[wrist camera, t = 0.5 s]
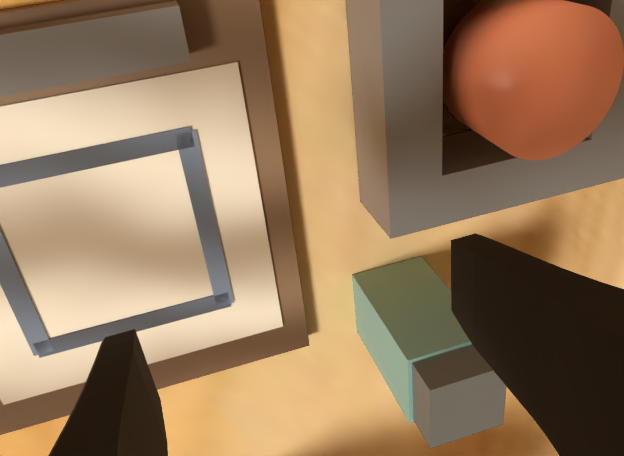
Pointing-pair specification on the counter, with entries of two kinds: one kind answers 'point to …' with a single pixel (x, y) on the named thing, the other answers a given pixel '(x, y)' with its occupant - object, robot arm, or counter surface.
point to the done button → (532, 73)
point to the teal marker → (426, 352)
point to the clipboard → (138, 196)
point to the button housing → (428, 128)
